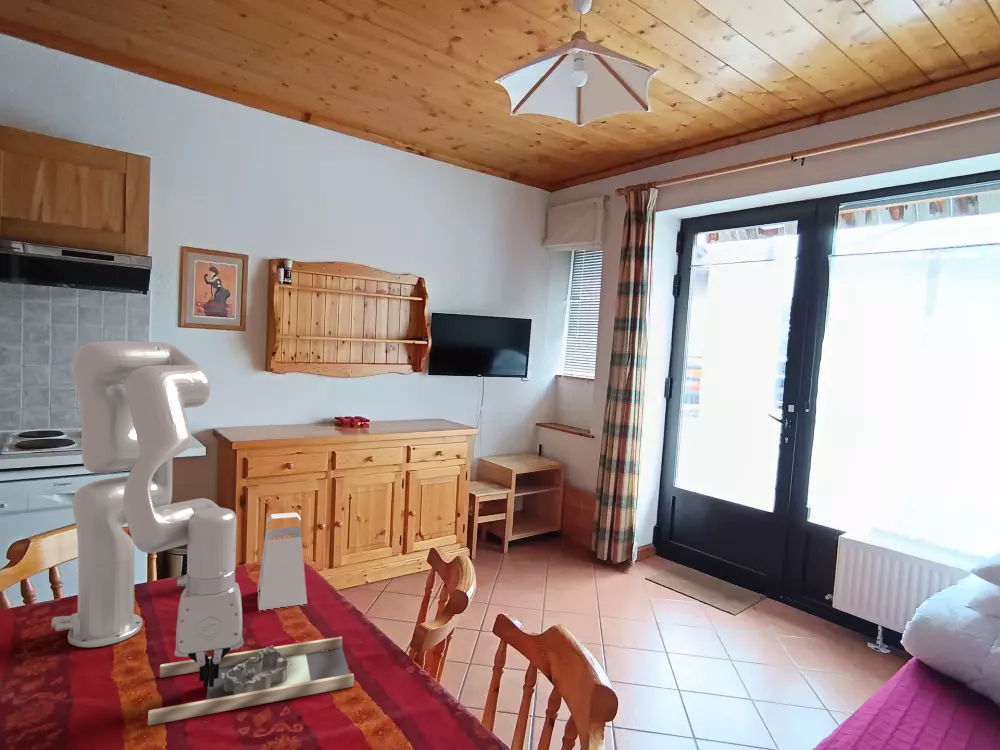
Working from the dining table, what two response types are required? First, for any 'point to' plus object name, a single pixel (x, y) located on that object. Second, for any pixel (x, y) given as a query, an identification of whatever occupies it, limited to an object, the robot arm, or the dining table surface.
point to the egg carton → (257, 672)
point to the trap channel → (304, 678)
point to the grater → (282, 568)
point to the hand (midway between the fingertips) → (209, 682)
